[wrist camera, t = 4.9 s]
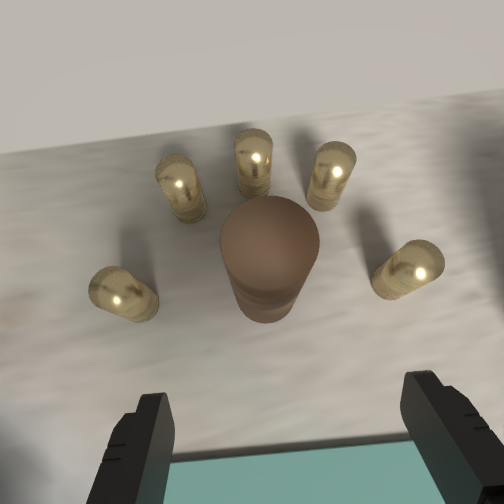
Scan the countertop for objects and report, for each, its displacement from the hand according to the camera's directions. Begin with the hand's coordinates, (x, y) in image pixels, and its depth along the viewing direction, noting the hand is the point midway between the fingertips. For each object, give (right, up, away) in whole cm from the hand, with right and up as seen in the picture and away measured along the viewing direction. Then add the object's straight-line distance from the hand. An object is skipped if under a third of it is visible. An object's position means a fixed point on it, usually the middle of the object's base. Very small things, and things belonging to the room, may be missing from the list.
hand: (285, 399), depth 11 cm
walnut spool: (0, +2, +12) cm, 12 cm away
